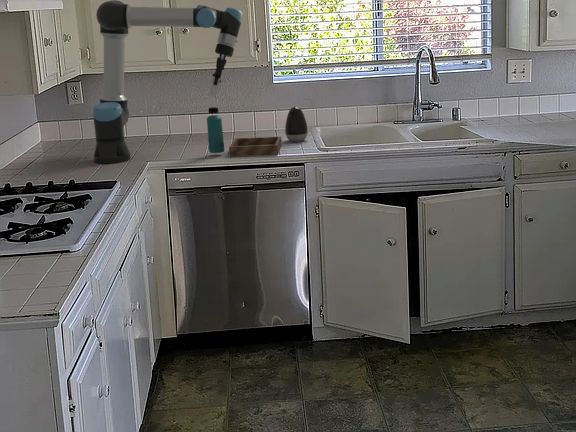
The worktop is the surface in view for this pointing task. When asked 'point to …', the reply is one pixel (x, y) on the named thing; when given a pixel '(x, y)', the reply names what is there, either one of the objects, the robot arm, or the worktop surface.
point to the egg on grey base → (296, 125)
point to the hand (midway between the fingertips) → (212, 94)
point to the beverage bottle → (215, 132)
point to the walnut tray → (255, 146)
